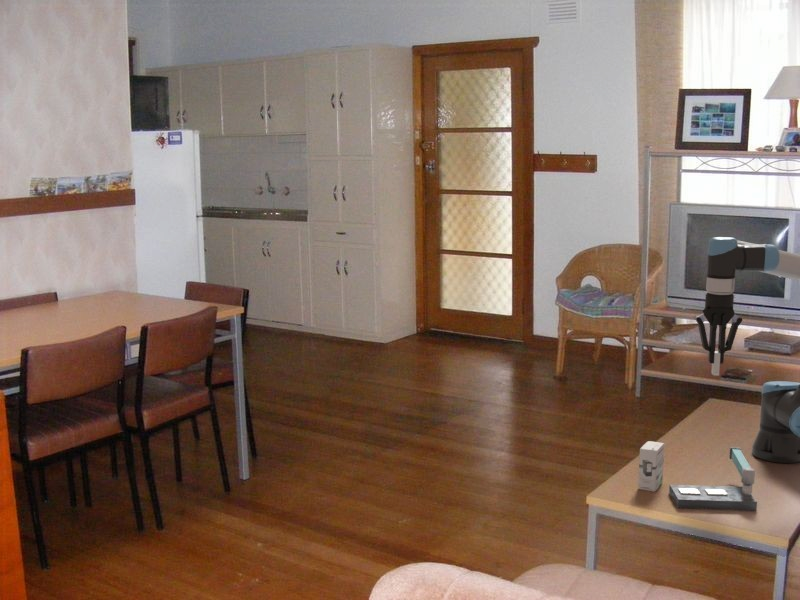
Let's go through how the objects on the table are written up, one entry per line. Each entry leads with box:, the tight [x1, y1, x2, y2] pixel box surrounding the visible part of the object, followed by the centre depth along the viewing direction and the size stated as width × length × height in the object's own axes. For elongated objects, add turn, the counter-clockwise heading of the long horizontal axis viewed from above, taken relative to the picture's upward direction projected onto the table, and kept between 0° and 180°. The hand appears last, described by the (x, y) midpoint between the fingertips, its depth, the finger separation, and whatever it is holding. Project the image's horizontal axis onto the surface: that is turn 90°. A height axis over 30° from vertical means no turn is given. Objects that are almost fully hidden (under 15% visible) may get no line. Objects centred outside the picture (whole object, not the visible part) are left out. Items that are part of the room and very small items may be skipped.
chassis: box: [668, 483, 758, 512], centre depth 250 cm, size 20×11×5 cm, turn 86°
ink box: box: [637, 440, 665, 492], centre depth 262 cm, size 9×5×12 cm, turn 151°
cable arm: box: [729, 446, 756, 485], centre depth 258 cm, size 21×3×4 cm, turn 170°
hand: (715, 374), depth 268 cm, fingers closed
